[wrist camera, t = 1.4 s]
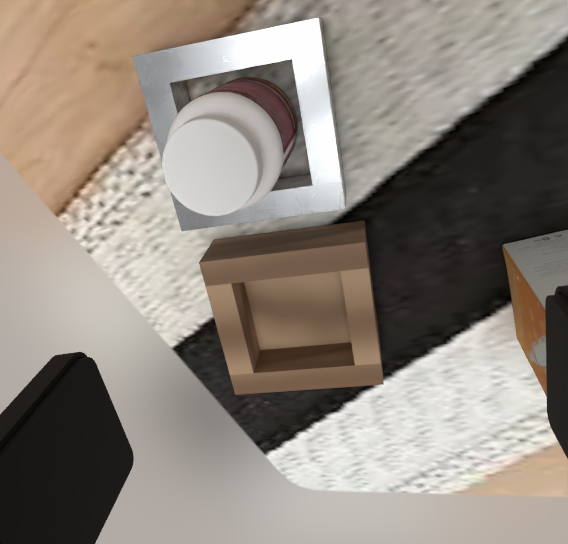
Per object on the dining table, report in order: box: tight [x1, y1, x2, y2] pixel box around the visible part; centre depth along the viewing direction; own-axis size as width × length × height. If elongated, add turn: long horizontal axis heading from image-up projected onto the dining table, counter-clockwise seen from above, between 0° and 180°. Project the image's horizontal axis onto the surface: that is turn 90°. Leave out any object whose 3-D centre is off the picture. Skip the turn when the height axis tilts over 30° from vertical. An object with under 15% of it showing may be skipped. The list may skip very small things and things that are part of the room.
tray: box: [199, 221, 383, 395], centre depth 37 cm, size 11×11×4 cm
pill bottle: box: [162, 78, 297, 216], centre depth 29 cm, size 6×6×11 cm
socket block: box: [132, 18, 346, 231], centre depth 33 cm, size 11×11×3 cm
